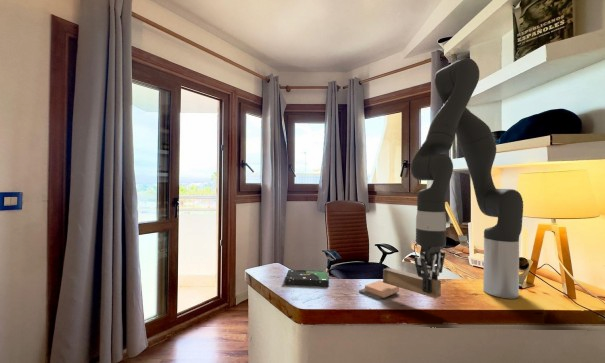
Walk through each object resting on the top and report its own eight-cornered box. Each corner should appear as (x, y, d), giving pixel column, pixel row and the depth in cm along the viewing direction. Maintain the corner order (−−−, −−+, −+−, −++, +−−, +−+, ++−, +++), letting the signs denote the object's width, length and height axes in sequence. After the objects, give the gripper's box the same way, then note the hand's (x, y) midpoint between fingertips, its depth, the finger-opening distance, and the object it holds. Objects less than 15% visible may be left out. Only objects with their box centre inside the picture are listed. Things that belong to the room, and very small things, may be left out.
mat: (377, 285, 95) (377, 283, 95) (397, 291, 90) (397, 289, 90) (358, 292, 89) (359, 290, 89) (379, 299, 83) (379, 297, 83)
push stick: (388, 280, 88) (388, 267, 89) (440, 295, 76) (440, 280, 76) (382, 282, 87) (383, 269, 87) (435, 298, 74) (435, 283, 74)
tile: (398, 291, 88) (379, 285, 94) (399, 286, 88) (379, 280, 94) (384, 297, 83) (364, 290, 88) (384, 292, 83) (364, 285, 89)
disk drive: (284, 287, 94) (329, 288, 93) (284, 278, 94) (329, 280, 93) (288, 277, 104) (328, 278, 103) (288, 269, 104) (328, 270, 103)
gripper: (432, 231, 70) (432, 302, 70) (455, 227, 79) (455, 289, 79) (404, 228, 76) (403, 293, 75) (428, 224, 85) (428, 281, 85)
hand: (430, 290), depth 77 cm, fingers closed on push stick, 3 cm apart
